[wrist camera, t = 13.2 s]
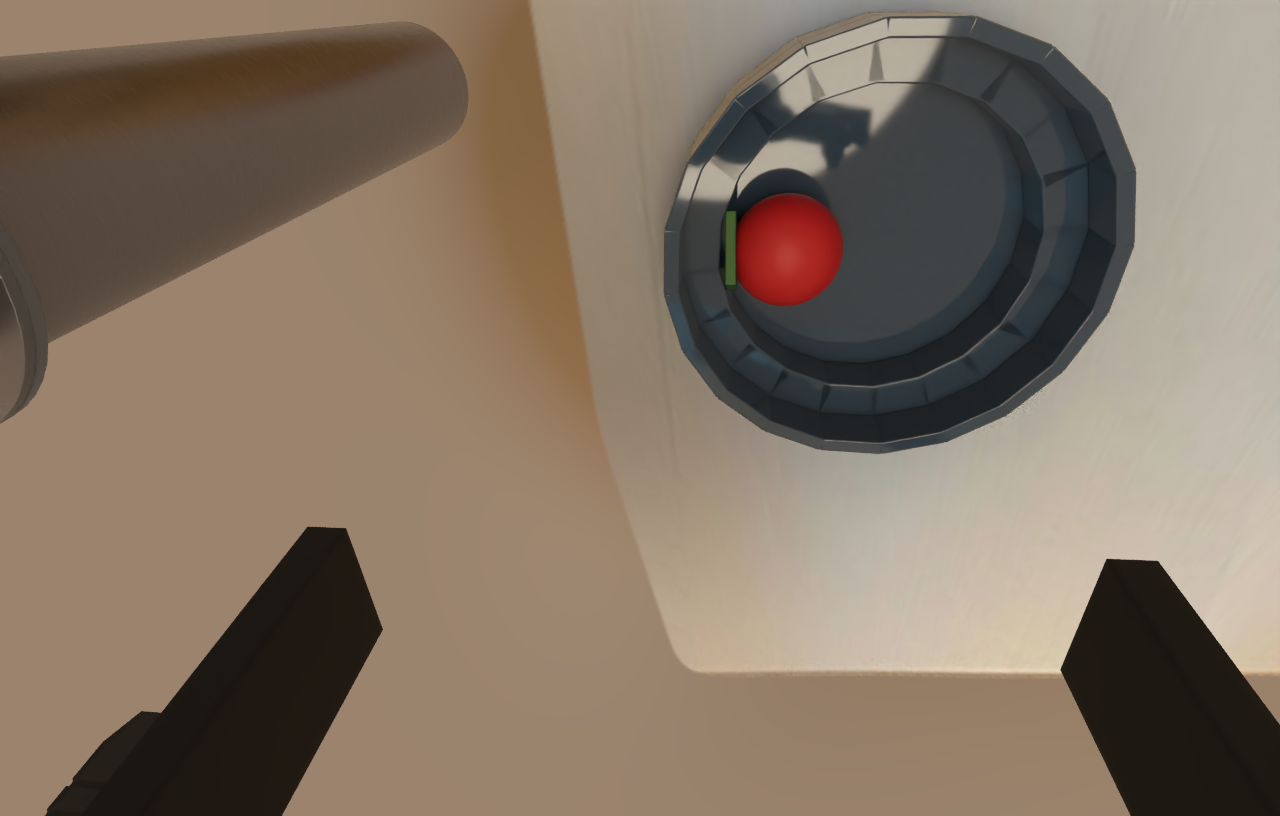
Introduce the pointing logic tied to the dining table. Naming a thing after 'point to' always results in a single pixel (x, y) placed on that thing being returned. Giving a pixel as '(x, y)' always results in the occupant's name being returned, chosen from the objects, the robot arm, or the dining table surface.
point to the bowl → (906, 229)
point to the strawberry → (783, 249)
